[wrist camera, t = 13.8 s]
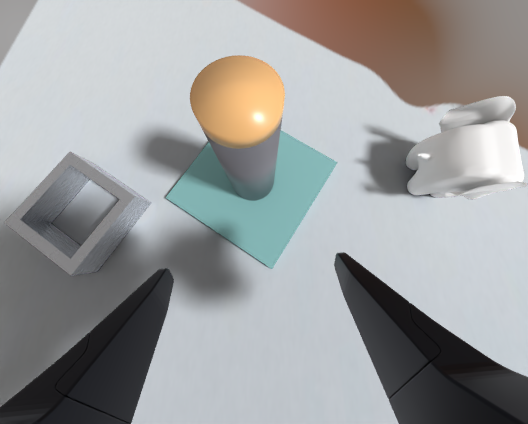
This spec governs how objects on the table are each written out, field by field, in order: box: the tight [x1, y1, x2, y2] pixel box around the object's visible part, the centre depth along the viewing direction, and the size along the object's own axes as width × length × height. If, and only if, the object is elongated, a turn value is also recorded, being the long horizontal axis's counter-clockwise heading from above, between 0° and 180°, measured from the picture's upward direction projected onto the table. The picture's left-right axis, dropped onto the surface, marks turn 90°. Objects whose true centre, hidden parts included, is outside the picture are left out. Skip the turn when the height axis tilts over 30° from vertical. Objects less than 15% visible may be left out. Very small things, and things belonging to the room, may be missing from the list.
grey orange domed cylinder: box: [190, 56, 285, 201], centre depth 14 cm, size 4×4×11 cm
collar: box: [4, 152, 151, 276], centre depth 18 cm, size 8×8×2 cm
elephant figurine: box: [406, 96, 528, 200], centre depth 17 cm, size 8×10×7 cm
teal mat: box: [166, 130, 337, 269], centre depth 20 cm, size 13×13×1 cm
